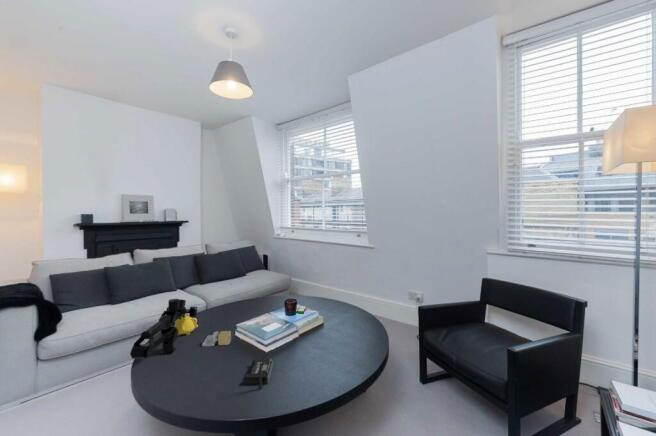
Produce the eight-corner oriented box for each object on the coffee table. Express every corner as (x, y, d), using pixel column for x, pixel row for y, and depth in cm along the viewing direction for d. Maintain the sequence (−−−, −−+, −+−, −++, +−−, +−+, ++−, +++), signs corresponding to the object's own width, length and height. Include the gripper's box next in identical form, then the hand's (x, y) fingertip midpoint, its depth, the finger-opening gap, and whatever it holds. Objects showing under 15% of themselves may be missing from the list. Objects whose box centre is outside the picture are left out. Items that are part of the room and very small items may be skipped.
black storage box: (250, 366, 151) (249, 334, 150) (276, 365, 151) (275, 334, 151) (239, 390, 131) (238, 354, 130) (269, 390, 131) (269, 353, 131)
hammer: (213, 346, 172) (213, 338, 172) (202, 346, 172) (201, 339, 172) (222, 333, 189) (221, 326, 189) (211, 333, 189) (211, 327, 189)
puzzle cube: (306, 319, 211) (306, 306, 211) (304, 325, 201) (303, 311, 201) (293, 319, 212) (293, 305, 212) (290, 324, 202) (290, 311, 202)
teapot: (193, 338, 182) (192, 321, 182) (168, 340, 180) (168, 322, 179) (202, 325, 202) (201, 309, 202) (180, 327, 200) (179, 311, 199)
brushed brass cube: (228, 344, 174) (228, 335, 173) (218, 345, 173) (218, 335, 173) (231, 340, 180) (230, 330, 179) (221, 340, 179) (221, 331, 179)
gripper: (191, 302, 176) (202, 296, 191) (161, 301, 175) (174, 295, 191) (191, 320, 175) (202, 312, 191) (160, 320, 175) (174, 312, 190)
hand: (188, 308), depth 191 cm, fingers open, 9 cm apart
